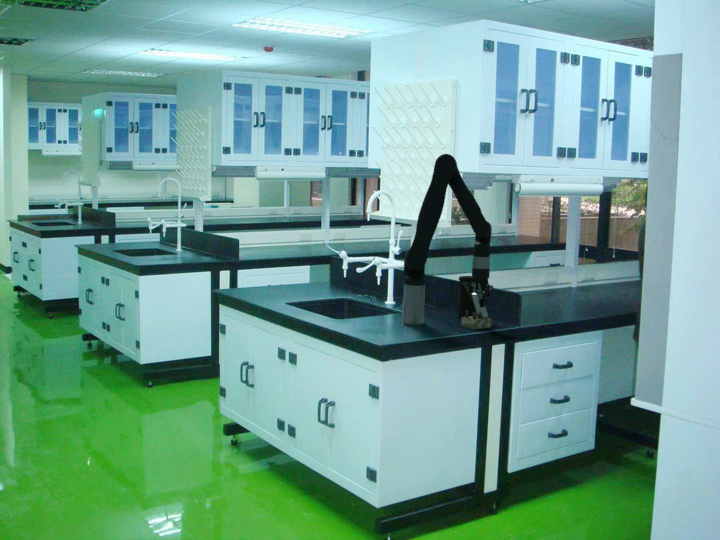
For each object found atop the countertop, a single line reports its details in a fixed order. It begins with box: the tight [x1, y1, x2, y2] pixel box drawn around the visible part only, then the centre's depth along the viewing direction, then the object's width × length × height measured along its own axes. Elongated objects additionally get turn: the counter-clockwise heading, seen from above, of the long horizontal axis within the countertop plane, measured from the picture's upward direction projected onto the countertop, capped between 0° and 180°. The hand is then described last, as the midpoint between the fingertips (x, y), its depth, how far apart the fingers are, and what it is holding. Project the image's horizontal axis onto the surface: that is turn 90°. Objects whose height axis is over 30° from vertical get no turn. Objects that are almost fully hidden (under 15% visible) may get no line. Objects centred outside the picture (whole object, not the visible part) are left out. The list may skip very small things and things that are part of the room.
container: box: [457, 275, 477, 320], centre depth 345 cm, size 9×9×20 cm
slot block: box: [460, 311, 492, 330], centre depth 326 cm, size 10×8×7 cm
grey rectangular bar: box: [472, 291, 489, 319], centre depth 327 cm, size 3×3×12 cm
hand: (479, 306), depth 326 cm, fingers closed on grey rectangular bar, 3 cm apart
